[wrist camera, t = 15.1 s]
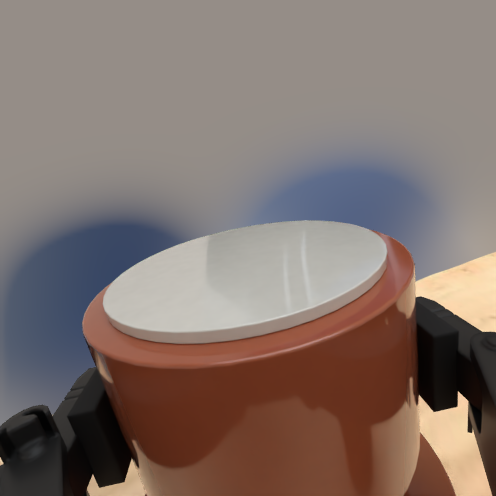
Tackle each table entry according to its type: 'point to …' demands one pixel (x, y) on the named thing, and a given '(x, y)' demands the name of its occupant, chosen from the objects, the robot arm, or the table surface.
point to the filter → (269, 365)
